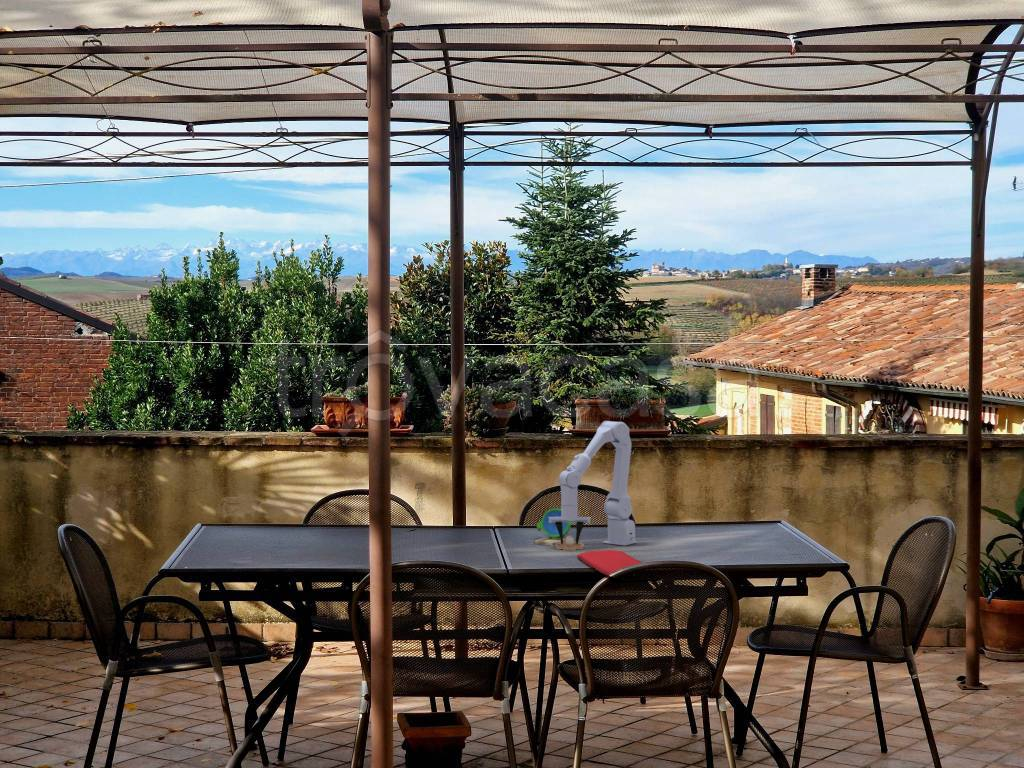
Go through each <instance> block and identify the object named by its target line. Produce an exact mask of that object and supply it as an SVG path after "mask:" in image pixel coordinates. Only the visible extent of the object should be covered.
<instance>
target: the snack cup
mask: <svg viewBox="0 0 1024 768" xmlns="http://www.w3.org/2000/svg"><path fill="white" fill-rule="evenodd" d="M549 517H561V508H552V509H549V510H546V512H545V513H544V514H543V516H542V518H541V520H540V521H538V522H537V523H536V529H537V531H538V532H541V530H542V531H543V532H544V533H545V534H546V535H547V537H559V538H560V535H559V532H558V530H557V527H556V525H555V523H549ZM562 525H563V537H566V536H568V535H569V533H570V531H571V526H572V525H576V523H562Z"/></svg>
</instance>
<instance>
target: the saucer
mask: <svg viewBox="0 0 1024 768" xmlns="http://www.w3.org/2000/svg"><path fill="white" fill-rule="evenodd" d="M555 548H556V550H559V549H563V550H562V551H575V550H574V549H581V550H583V549H582V548H584V549H585V544H584V543H581V542H578V544H576V541H575V544H574V545H573V546H571V547H568V546H566V545H565V543H564V542H563V544H561V543H557V544H555V546H554V549H555Z"/></svg>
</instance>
